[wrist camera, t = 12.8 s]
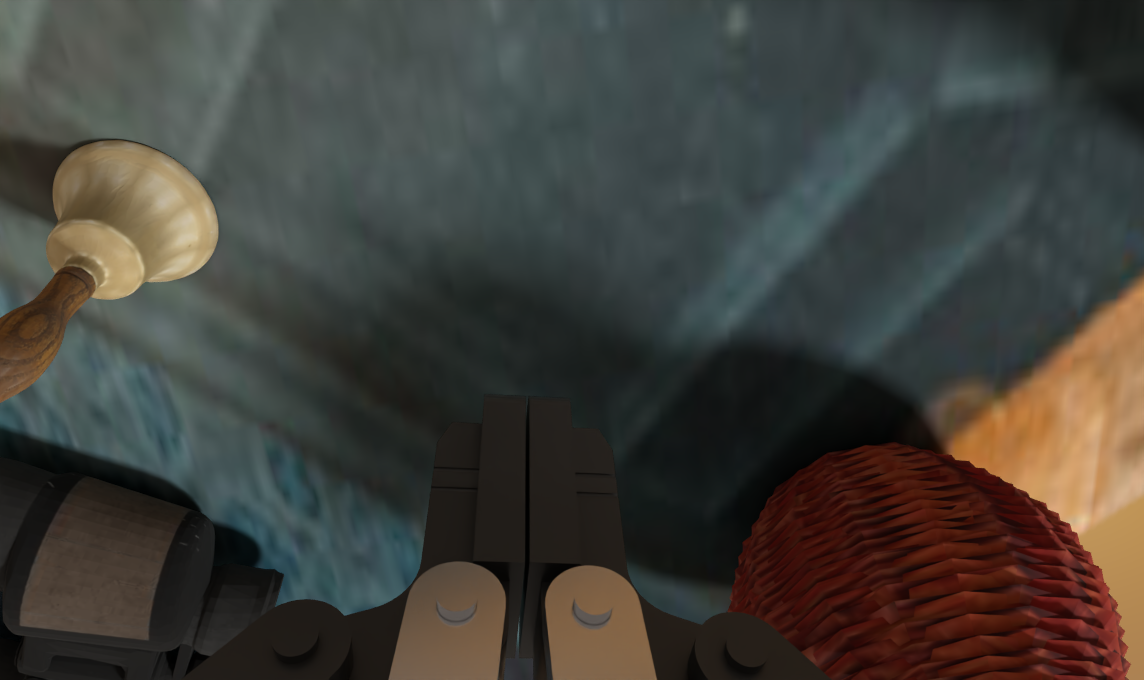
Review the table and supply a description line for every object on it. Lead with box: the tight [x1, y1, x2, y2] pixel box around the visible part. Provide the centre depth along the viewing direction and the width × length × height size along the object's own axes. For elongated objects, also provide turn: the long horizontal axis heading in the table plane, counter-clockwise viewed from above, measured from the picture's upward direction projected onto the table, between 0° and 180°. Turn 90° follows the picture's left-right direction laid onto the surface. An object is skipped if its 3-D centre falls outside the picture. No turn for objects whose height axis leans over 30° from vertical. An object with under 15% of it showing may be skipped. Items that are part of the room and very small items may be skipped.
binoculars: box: [0, 457, 284, 680], centre depth 57 cm, size 29×20×10 cm
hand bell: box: [0, 140, 218, 403], centre depth 36 cm, size 8×8×16 cm
